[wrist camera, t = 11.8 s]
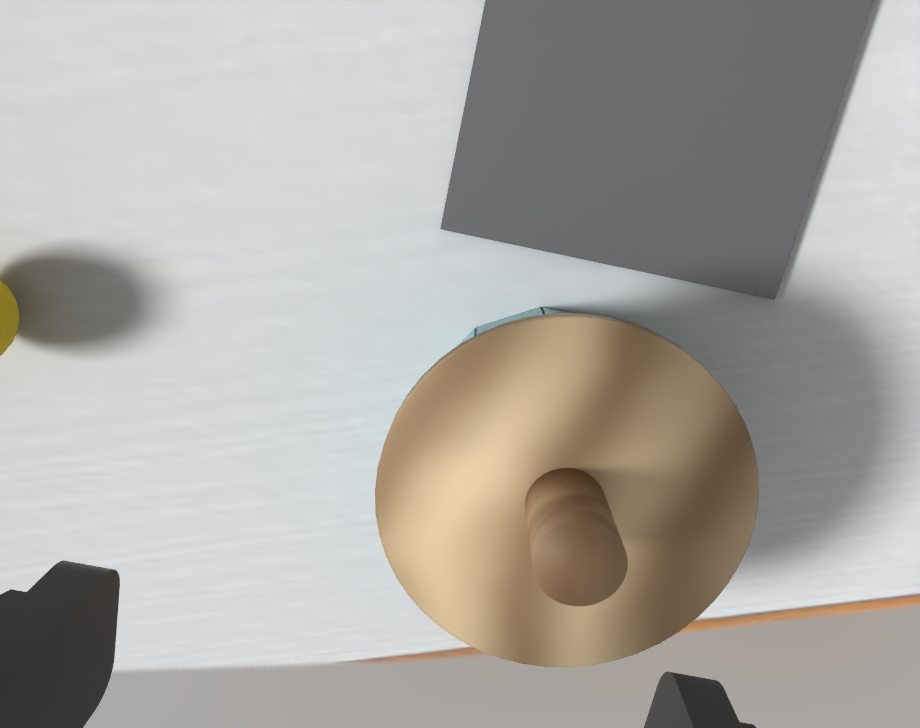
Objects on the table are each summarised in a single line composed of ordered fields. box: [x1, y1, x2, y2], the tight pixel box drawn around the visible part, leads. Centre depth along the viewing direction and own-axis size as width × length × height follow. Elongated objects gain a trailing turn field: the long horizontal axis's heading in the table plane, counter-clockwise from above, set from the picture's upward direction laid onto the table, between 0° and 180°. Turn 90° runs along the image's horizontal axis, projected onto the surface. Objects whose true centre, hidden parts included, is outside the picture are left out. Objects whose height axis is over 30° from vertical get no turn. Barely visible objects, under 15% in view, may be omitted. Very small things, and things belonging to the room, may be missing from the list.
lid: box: [375, 313, 758, 667], centre depth 31 cm, size 17×17×6 cm
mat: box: [441, 0, 873, 300], centre depth 36 cm, size 18×18×1 cm
